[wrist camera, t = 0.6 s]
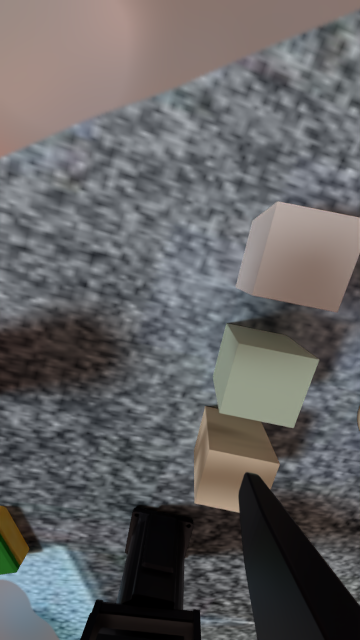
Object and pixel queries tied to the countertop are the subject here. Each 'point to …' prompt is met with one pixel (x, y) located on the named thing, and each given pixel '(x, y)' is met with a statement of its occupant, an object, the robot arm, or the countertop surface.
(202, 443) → the maple block
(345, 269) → the offwhite block
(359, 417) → the coaster
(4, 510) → the dish sponge
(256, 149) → the countertop surface
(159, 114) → the countertop surface
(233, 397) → the sage block
